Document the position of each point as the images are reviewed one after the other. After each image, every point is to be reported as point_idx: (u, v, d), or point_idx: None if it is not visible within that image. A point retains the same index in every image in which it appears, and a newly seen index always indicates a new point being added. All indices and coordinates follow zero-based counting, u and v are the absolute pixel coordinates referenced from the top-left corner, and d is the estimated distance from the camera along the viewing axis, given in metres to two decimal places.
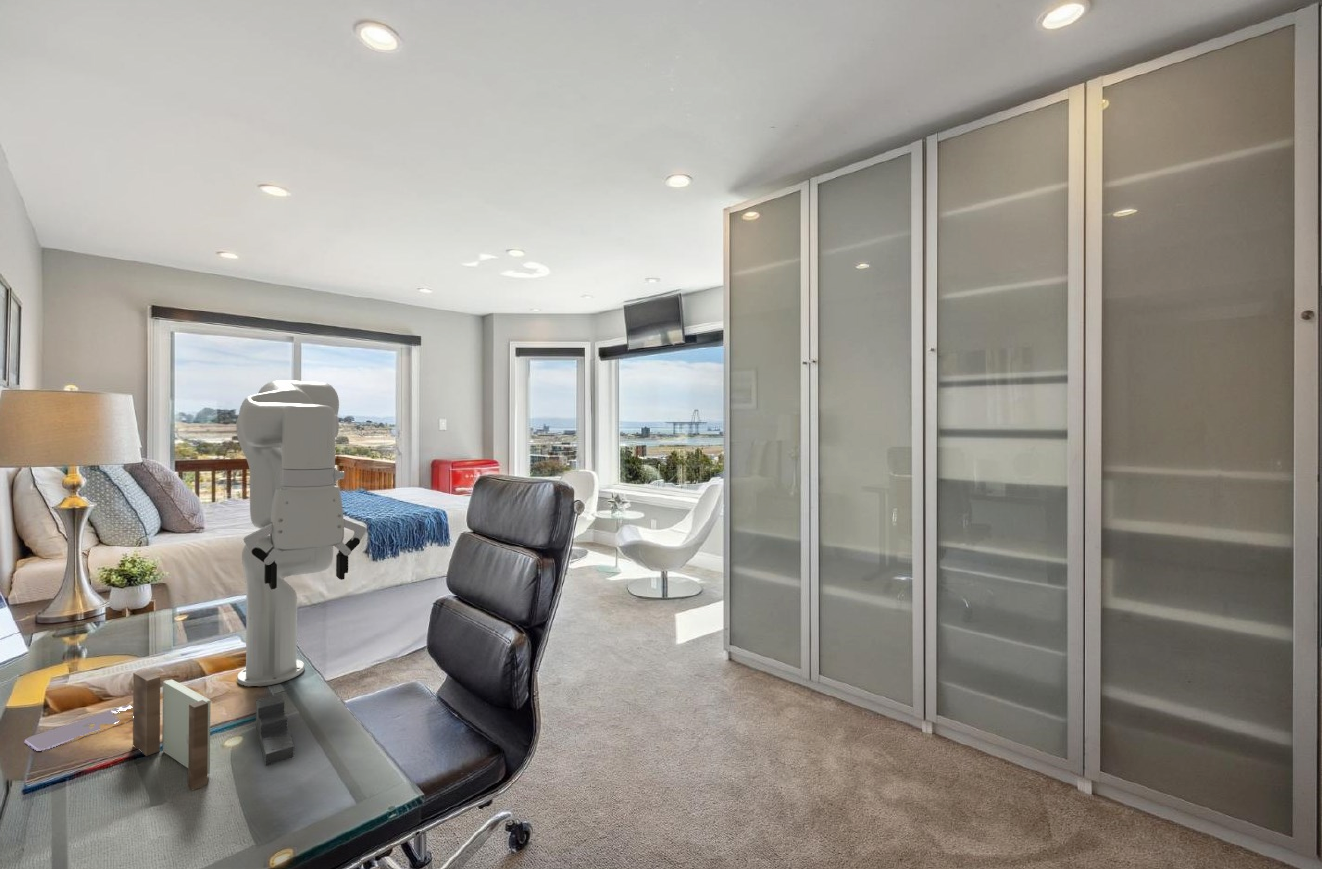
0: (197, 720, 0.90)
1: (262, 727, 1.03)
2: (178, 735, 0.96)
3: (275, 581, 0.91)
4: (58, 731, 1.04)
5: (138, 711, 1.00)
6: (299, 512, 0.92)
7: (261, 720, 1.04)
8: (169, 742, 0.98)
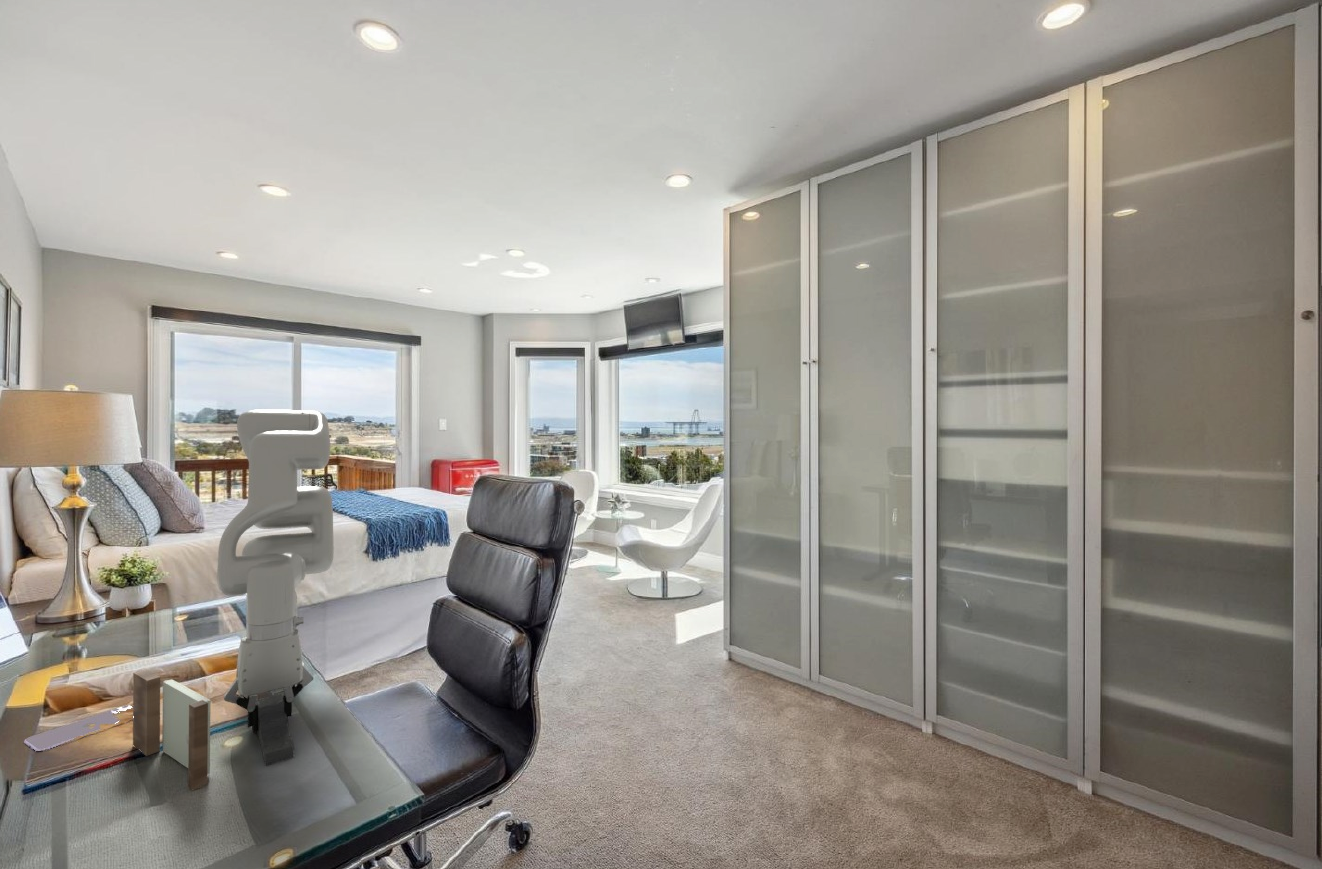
0: (197, 720, 0.90)
1: (262, 727, 1.03)
2: (178, 735, 0.96)
3: (257, 725, 1.06)
4: (58, 731, 1.04)
5: (138, 711, 1.00)
6: (261, 661, 1.05)
7: (261, 719, 1.04)
8: (169, 742, 0.98)
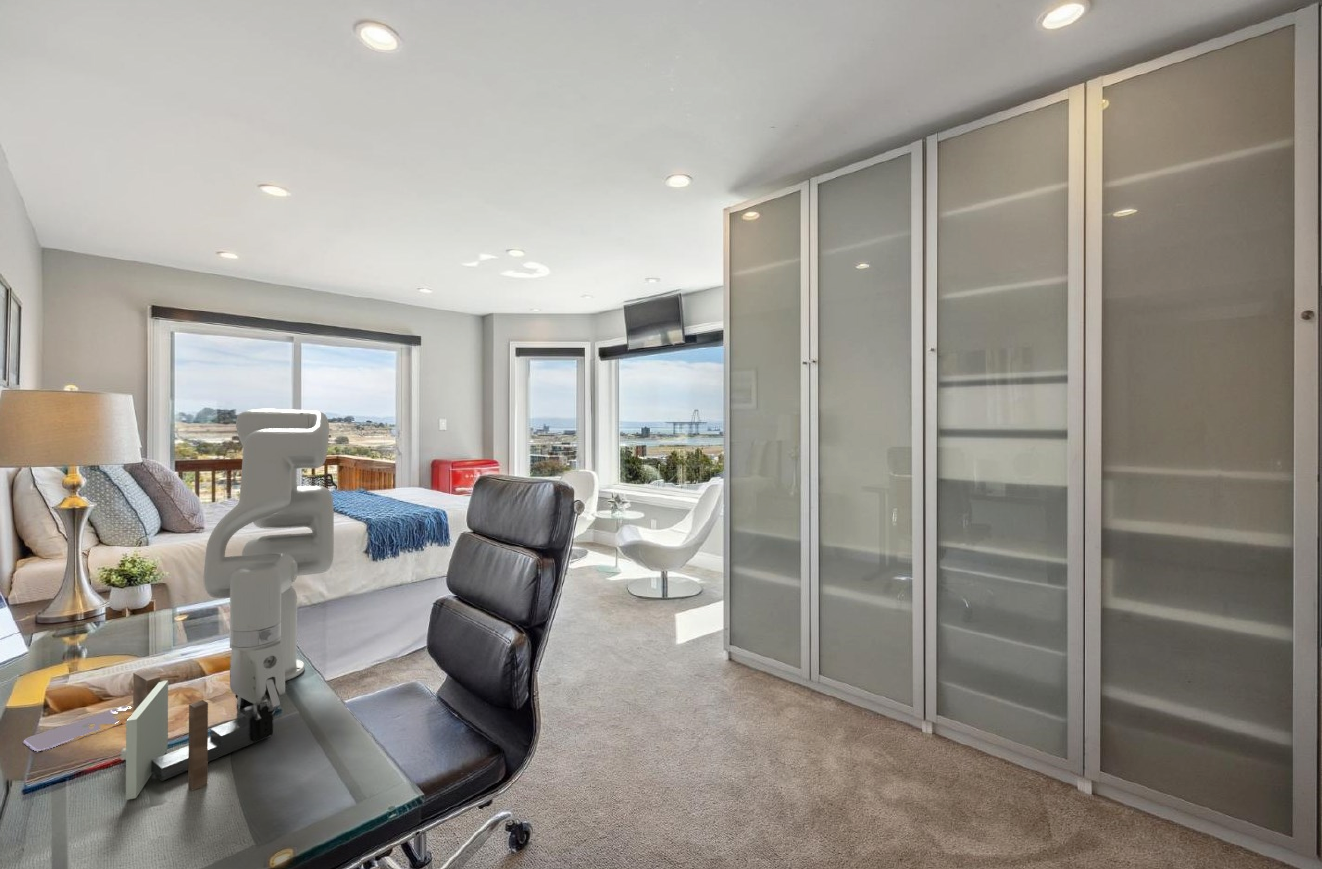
0: (197, 720, 0.90)
1: (211, 731, 0.99)
2: None
3: None
4: (57, 732, 1.04)
5: None
6: (235, 664, 1.02)
7: (225, 723, 1.01)
8: None
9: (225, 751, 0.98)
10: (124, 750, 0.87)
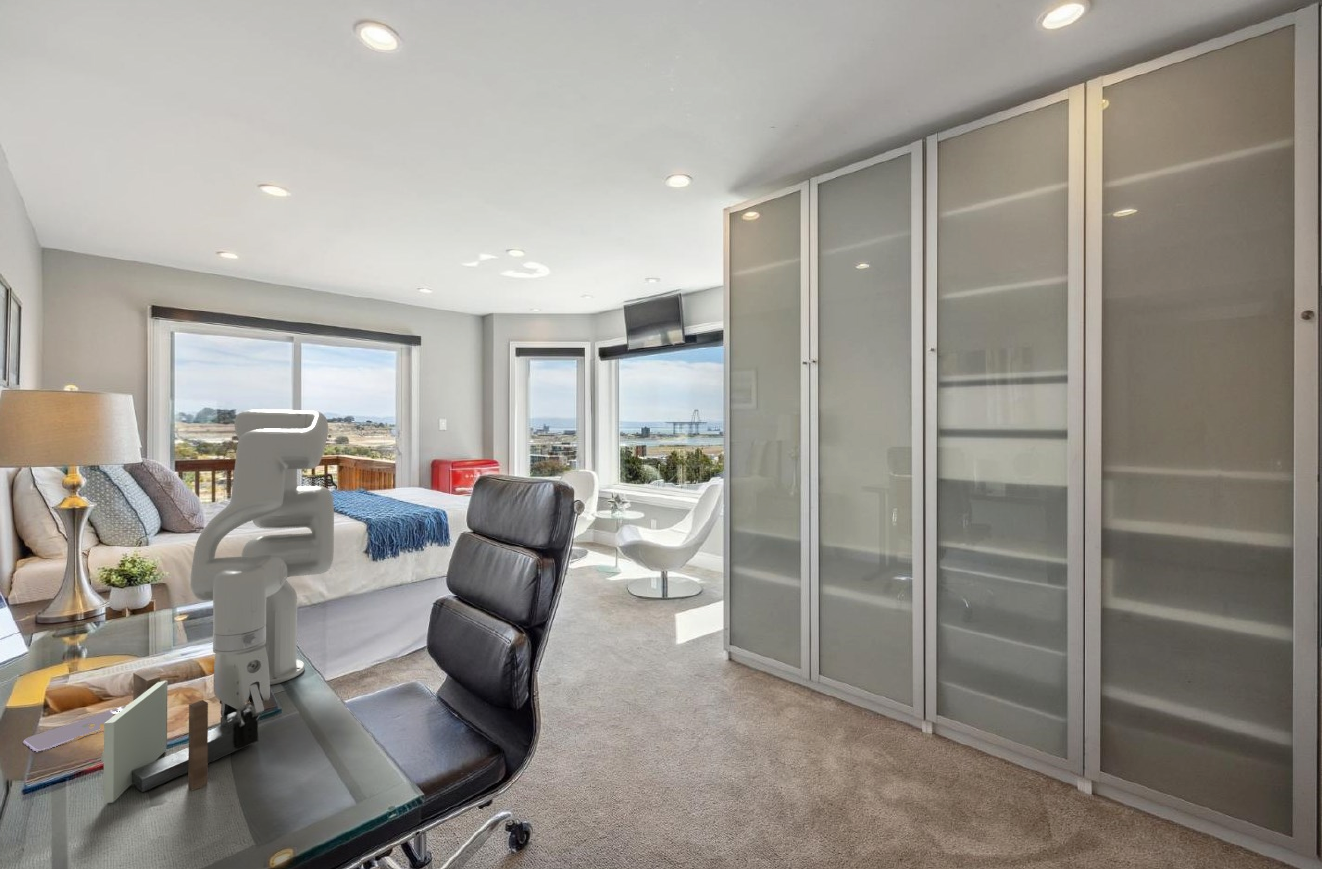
0: (197, 720, 0.90)
1: None
2: None
3: None
4: (57, 732, 1.04)
5: None
6: (219, 669, 1.00)
7: (208, 731, 0.99)
8: None
9: (208, 759, 0.96)
10: None
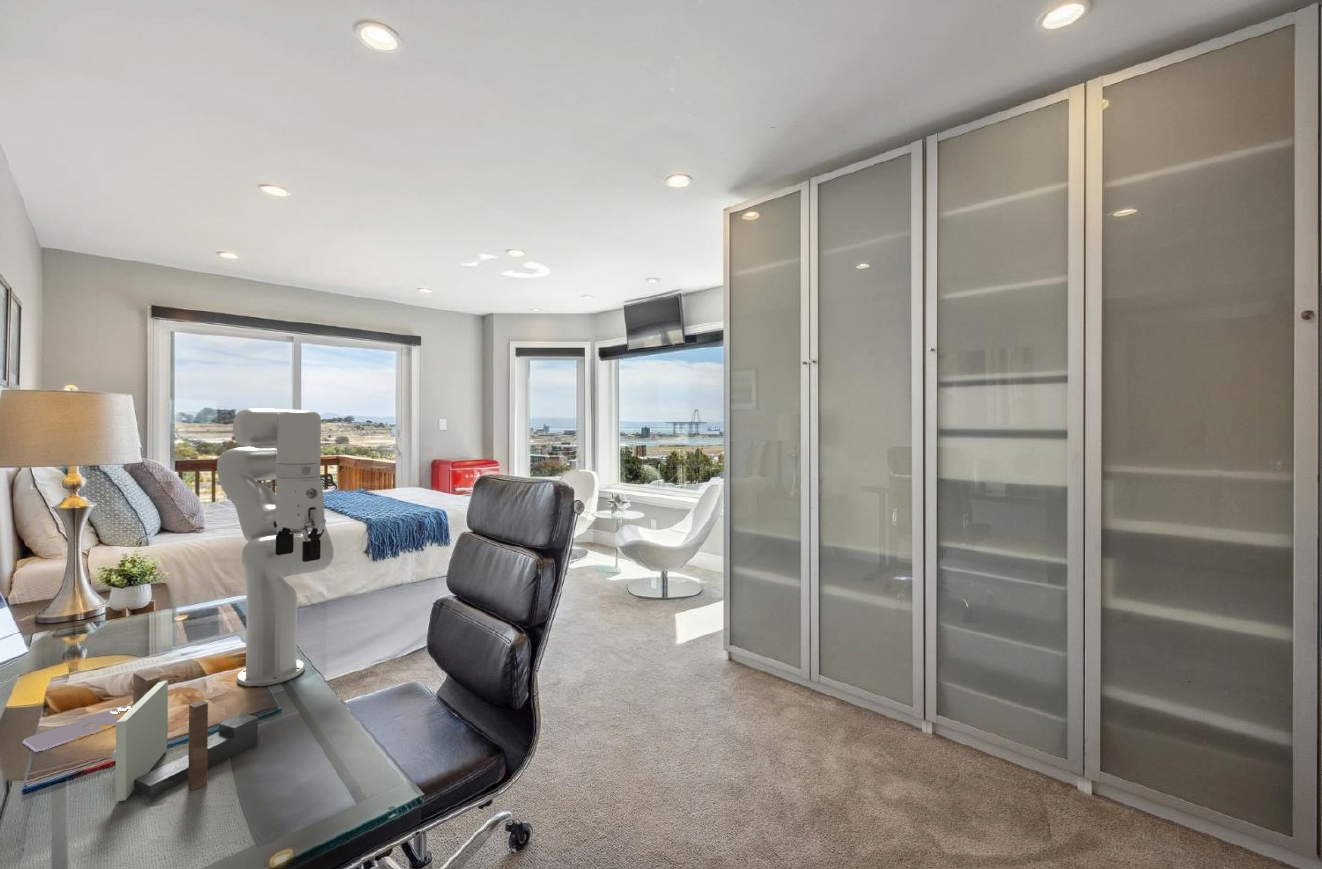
0: (197, 720, 0.90)
1: None
2: None
3: (277, 549, 1.17)
4: (56, 732, 1.04)
5: None
6: (280, 497, 1.14)
7: None
8: None
9: (212, 764, 0.95)
10: (115, 751, 0.87)
